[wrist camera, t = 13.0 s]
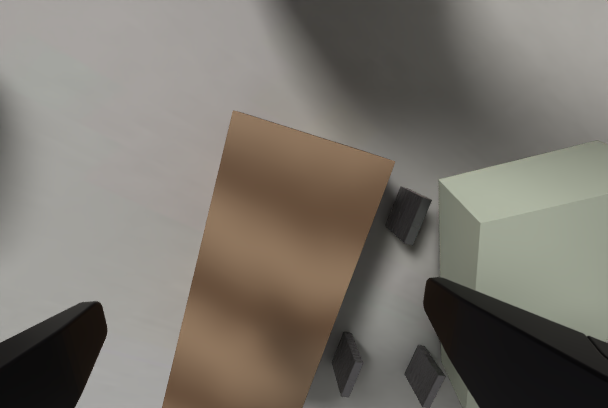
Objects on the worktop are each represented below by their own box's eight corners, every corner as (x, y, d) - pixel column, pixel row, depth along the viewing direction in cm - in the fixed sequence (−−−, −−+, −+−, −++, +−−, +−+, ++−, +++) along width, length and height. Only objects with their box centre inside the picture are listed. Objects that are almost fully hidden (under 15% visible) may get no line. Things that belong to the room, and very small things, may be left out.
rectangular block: (480, 223, 12) (687, 175, 12) (429, 169, 17) (577, 132, 16) (465, 414, 22) (580, 394, 21) (435, 348, 26) (529, 329, 25)
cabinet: (241, 112, 18) (233, 110, 13) (496, 192, 21) (563, 214, 17) (181, 356, 22) (158, 423, 17) (404, 389, 26) (436, 451, 21)
